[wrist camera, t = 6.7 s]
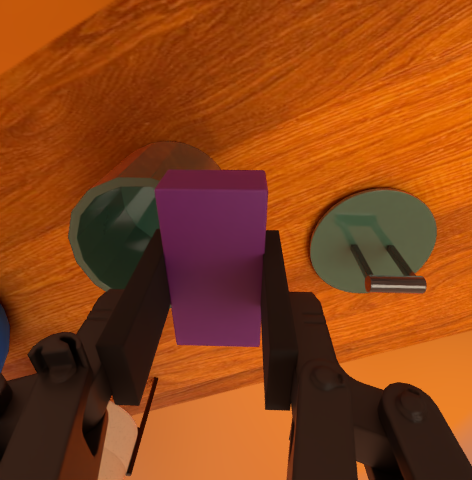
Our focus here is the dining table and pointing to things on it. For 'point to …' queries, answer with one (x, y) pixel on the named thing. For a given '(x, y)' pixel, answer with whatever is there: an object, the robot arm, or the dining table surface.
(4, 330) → the vase
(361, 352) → the dining table surface
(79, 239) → the cylinder
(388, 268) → the lid
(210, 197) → the purple rectangular block
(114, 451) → the planter
